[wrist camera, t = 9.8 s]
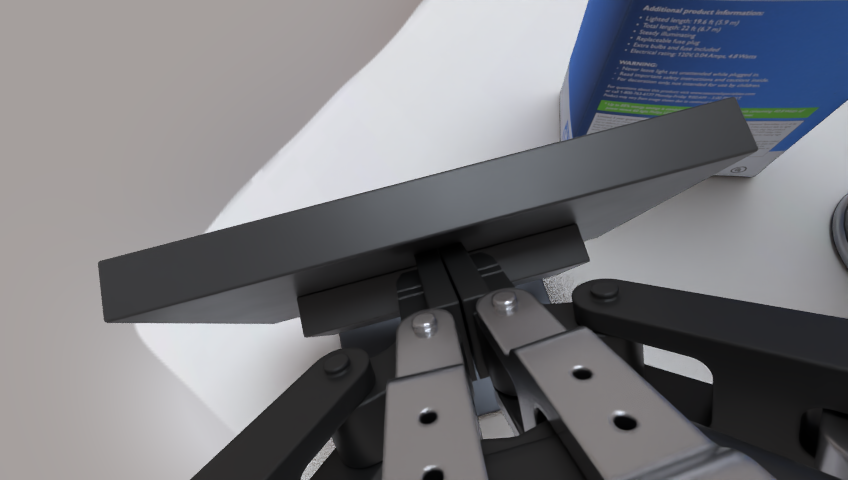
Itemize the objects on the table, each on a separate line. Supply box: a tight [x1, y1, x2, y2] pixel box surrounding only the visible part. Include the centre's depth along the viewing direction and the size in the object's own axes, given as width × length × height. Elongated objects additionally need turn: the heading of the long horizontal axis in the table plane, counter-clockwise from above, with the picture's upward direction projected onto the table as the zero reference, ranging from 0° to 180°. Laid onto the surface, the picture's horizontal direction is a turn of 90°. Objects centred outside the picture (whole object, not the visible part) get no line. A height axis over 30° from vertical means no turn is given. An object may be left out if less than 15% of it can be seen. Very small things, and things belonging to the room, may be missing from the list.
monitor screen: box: [98, 97, 758, 337], centre depth 16 cm, size 4×17×11 cm, turn 104°
